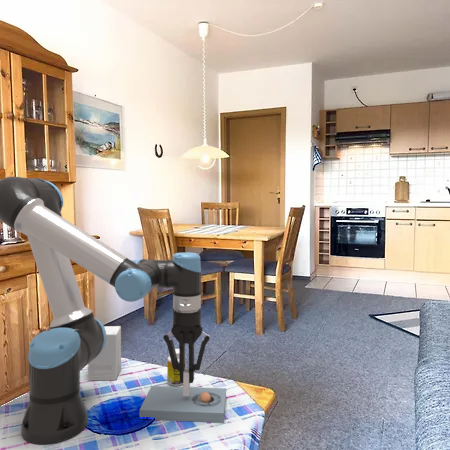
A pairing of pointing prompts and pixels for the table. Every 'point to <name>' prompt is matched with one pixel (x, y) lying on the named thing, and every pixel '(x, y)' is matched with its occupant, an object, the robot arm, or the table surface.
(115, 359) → the supplement box
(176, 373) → the supplement bottle
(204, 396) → the ball
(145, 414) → the plate
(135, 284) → the robot arm
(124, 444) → the table surface
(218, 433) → the table surface
